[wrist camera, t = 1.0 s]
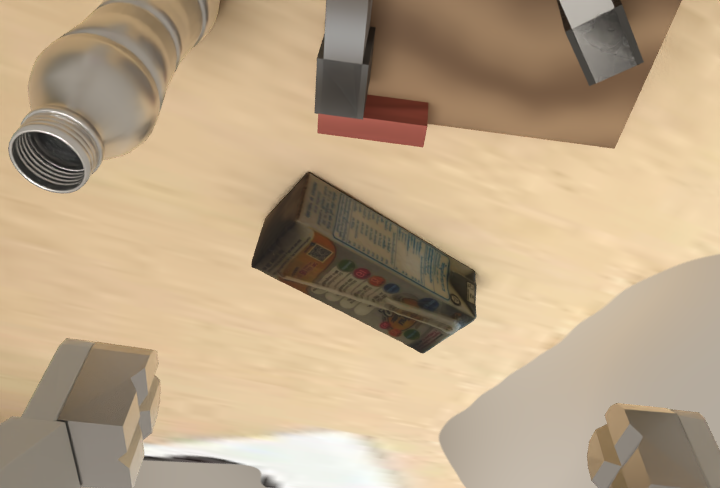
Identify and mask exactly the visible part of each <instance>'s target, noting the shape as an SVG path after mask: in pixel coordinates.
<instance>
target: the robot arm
mask: <svg viewBox="0 0 720 488" xmlns="http://www.w3.org/2000/svg"><path fill="white" fill-rule="evenodd" d="M158 364H159V362H158V354H157V351H156V350H150V349H143V348H136V347H129V346H122V345H115V344H108V343H101V342H93V341H86V340H78V339H70V338H66V339H65V340H64V341H63V342H62V343H61V344H60V345H59V347H58V349H57V351H56V352H55V354H54V356H53V358H52V360H51V362H50V364H49V366H48V367H47V369H46V371H45V373H44V375H43V377H42V379H41V381H40V382H39V384H38V386H37V388H36V390H35V392H34V394H33V395H32V397H31V399H30V401H29V403H28V405H27V407H26V409H25V410H24V412H23V414H22V416H21V417H15V416H12V417H10V418H9V419H7V420H6V421H4V422H3V423H1V424H0V488H81V487H93V488H133V487H134V485H135V482H136V479H137V476H138V473H139V470H140V467H141V464H142V461H143V458H144V447H143V440H144V439H145V438H146V437H147V436H149V435H150V434H151V433H152V431H153V428H154V425H155V422H156V418H157V414H158V409H159V404H160V392H161V387H160V380H159V379H158V378H157V377H156V376H155V373H156V370H157V367H158ZM605 418H606V421H607V424H606V425H604V426H602V427H600V428H598V429H596V430H595V432H594V434H593V435H592V437H591V439H590V441H589V446H588V453H587V460H588V469H589V473H590V477H591V481H592V482H593V483H594V484H595V485H596V486H597V487H598V488H720V450H719V448H718V445H717V443H716V441H715V439H714V437H713V435H712V433H711V431H710V428H709V426H708V424H707V422H706V420H705V418H704V417H703V416H702V415H701V414H700V413H698V412H690V411H681V410H673V409H667V408H659V407H650V406H640V405H630V404H620V403H616V404H614V405H612V406H611V407H610V408H609V409H608V411H607V412H606V414H605Z"/></svg>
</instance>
